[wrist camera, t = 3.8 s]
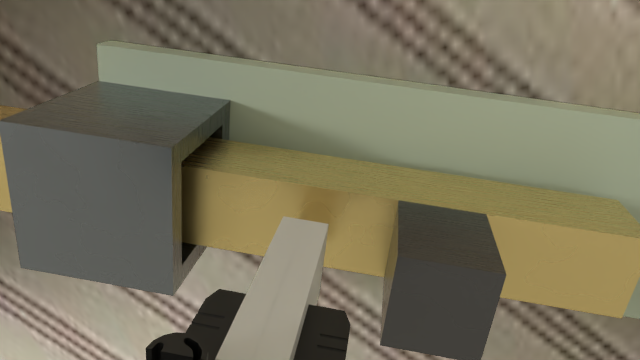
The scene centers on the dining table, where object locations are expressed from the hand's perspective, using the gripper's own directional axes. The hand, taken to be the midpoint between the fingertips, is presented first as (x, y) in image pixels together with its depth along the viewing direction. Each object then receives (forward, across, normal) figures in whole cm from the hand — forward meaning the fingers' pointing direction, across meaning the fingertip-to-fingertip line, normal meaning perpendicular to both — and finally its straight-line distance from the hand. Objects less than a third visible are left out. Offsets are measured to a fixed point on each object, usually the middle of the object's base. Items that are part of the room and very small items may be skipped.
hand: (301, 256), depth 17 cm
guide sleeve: (+7, -8, 0) cm, 10 cm away
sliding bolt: (+5, -3, 0) cm, 6 cm away
